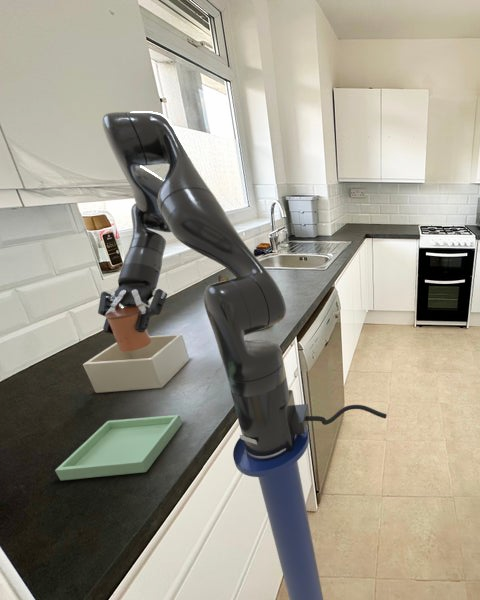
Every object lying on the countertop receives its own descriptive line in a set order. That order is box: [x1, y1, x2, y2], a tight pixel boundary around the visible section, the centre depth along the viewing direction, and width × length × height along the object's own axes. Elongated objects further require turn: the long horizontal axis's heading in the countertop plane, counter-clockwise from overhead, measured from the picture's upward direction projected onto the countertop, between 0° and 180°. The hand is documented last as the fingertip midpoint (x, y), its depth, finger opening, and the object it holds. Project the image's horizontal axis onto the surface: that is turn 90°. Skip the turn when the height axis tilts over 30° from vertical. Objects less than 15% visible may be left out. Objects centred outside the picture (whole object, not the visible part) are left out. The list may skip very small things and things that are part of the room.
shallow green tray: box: [54, 414, 183, 481], centre depth 56 cm, size 13×11×2 cm
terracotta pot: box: [104, 306, 151, 352], centre depth 74 cm, size 6×6×9 cm
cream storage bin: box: [82, 333, 190, 394], centre depth 78 cm, size 15×13×8 cm
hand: (124, 332), depth 73 cm, fingers closed on terracotta pot, 6 cm apart
